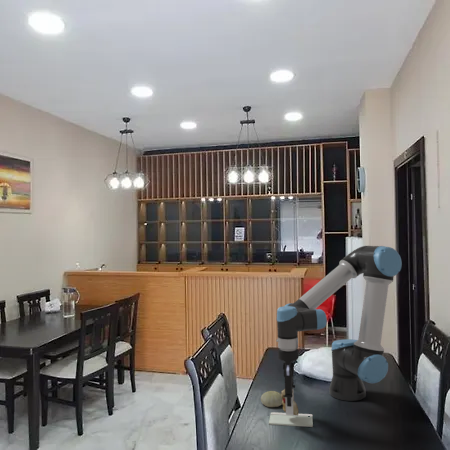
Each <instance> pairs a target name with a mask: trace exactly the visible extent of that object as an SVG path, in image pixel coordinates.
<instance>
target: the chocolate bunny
mask: <svg viewBox="0 0 450 450" xmlns="http://www.w3.org/2000/svg"><path fill="white" fill-rule="evenodd" d="M280 393H281V397H282V399H283V400H282V405H281V406H282V410H283V413H286V403H285V397H283V395H285V388H284V389H283V390H281V392H280ZM292 393H293V390H292ZM298 414H300V413H299V406H298V404H297V402H296V401H295V399H294V400H293V415H298Z"/></svg>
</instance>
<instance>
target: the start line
mask: <svg viewBox="0 0 450 450" xmlns="http://www.w3.org/2000/svg"><path fill="white" fill-rule="evenodd" d="M270 415H286V412H275V411H273V412H272V411H271V412H270ZM288 416H310V417H313V414H311V413H310V414H309V413H298V415H288Z"/></svg>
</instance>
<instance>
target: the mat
mask: <svg viewBox="0 0 450 450" xmlns="http://www.w3.org/2000/svg"><path fill="white" fill-rule="evenodd" d="M313 421H314V419H313V417H308V416H288V415H271V414H270V416H269V421H268V425H271V426H272V425H273V426H288V427H289V426H290V427H305V428H306V427H307V428H309V427H310V428H314V427H313V426H314V424H313V423H314V422H313Z"/></svg>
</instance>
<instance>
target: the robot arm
mask: <svg viewBox="0 0 450 450" xmlns="http://www.w3.org/2000/svg"><path fill="white" fill-rule="evenodd" d="M402 265H403V264H402V258H401V255H400V254H399V252H398V251H397V250H396V249H394V248H393V247H390V246H384V245H363V246H360V247H358V248H356V249H354V250H352V251H351V252H349V253H348V254H347V255H346V256H344V257H343V258H342V259H341V260H340V261H339V264H338V265H337V266H336V267H335V268H334V269H332V270H331V271H330V272H329V273H328V274H327V275H325V276H324V277H323V278H322V279H321V280H320V281H318V282H317V283H316V284H315V285H313V287H311V288H310V289H309V290H308V291H306V292H305V293H304V294H303V295H302V296H301V297H299V298H298V299H297V300H295V301H294V302H293V303H286V304H285V305H284V306H279V307H278V308H277V309H276V325H277V327H276V329H277V338H276V340H275V341H276V343H277V347H278V350H277V358H278V359H279V360H280V361H282V362H283V364H282V369H283V377H284V389H285V395H283V397H285V403H286V412H285V413H286V415H293V400H294V401H295V395H294V394H295V393H294V392H295V390H294V389H295V388H296V385H294V372H295V363H294V362H295V361H297V360H298V359H299V349H298V348H299V335H298V333H299V332H307V331H318V330H322V329H324V328H326V326H327V323H328V320H327V314H326V311H324V310H323V309H320V308H319V309H318V307H320V305H322V304H323V303H324V302H326V301H327V299H329V298H330V297H331V296H332V295H334V294H335V293H337V291H338V290H339V289H341V288H342V287H343V286H344V285H345V284H347V283H348V282H350V280H351V279H356V278H357V277H358V276H360V275H362V276H363V279H364V280H365V282H366V283H365V289H364V297H363V304H362V311H361V316H360V317H361V318H360V323H359V324H360V326H359V331H358V339H350V338H349V339H347V338H346V339H336V340H334V341H333V342H332V343H331V359H332V362H331V363H332V364H331V365H332V377H331V381H330V385H329V389H328V390H329V395H330V396H331V397H333V398H334V399H337V400H342V401H347V402H348V401H349V402H353V401H354V402H355V401H360V400H363V399H365V398H366V396H367V393H366V392H367V389H366V386H365V384H364V382H366V383H369V384H377V383H379V382H381V381H382V380H384V379H385V377H386V376H387V374H388V371H389V362H388V361H387V358H386V357H385V356H384V354H385V353H384V352H385V349H384V348H383V346H382V344H381V343H382V336H383V328H384V322H385V320H384V319H385V313H386V305H387V298H388V292H389V290H388V289H389V286H390V284H392V283H393V282H394V278H395V276H396V275H398V273H400V272H401V270H402V267H403V266H402ZM292 390H293V393H292Z"/></svg>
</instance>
